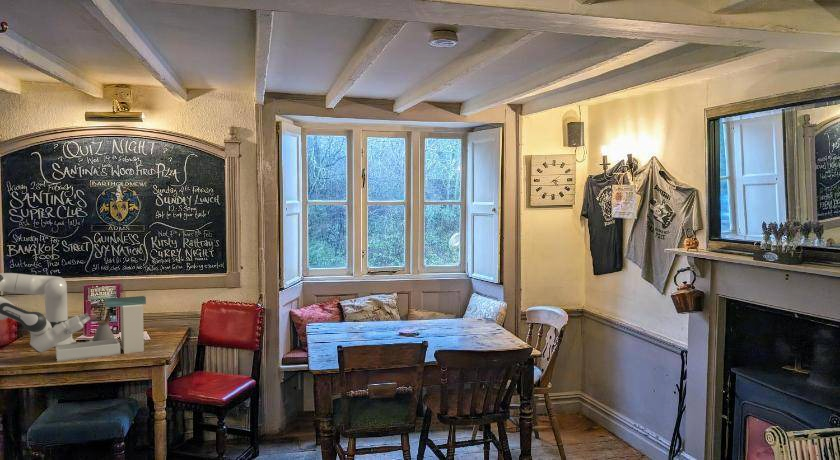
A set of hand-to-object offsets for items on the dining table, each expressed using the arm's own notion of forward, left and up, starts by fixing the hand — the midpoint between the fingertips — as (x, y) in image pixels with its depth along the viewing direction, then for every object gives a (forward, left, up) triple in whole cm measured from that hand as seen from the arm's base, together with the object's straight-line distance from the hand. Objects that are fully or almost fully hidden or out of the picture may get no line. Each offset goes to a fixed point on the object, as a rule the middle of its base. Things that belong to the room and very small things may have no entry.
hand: (89, 315), depth 332 cm
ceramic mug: (-15, +25, -22) cm, 37 cm away
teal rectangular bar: (0, +18, +4) cm, 19 cm away
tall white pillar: (0, +21, -22) cm, 30 cm away
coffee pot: (-31, +11, -22) cm, 40 cm away
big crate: (0, -1, -22) cm, 22 cm away
